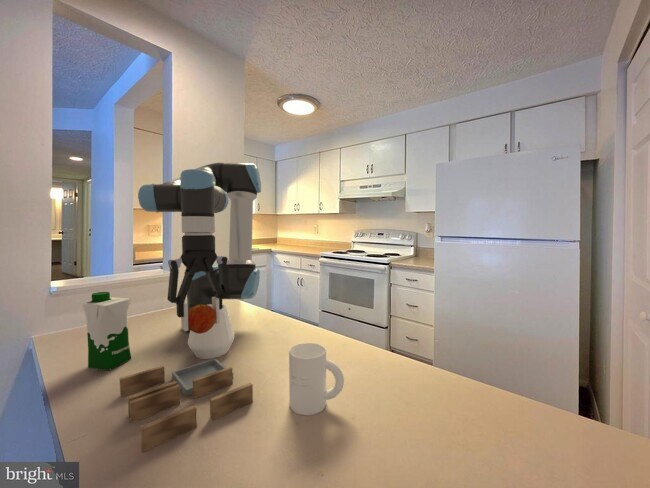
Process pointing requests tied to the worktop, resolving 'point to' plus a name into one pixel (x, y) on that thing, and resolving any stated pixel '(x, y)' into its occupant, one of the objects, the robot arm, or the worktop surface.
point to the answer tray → (195, 374)
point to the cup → (213, 338)
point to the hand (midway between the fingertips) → (201, 325)
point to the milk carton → (107, 331)
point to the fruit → (201, 318)
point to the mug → (311, 378)
